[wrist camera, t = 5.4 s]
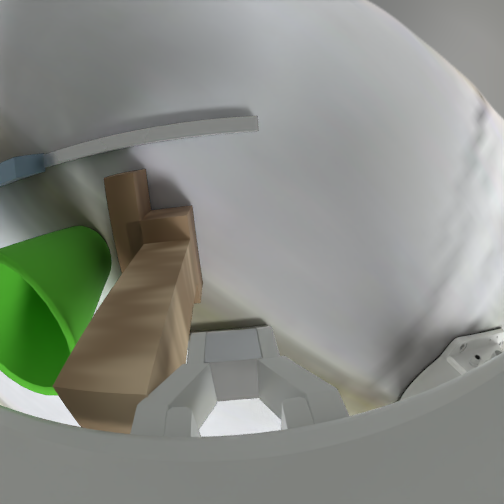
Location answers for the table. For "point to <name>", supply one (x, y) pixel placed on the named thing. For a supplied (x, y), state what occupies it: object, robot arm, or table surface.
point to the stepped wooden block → (135, 310)
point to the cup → (48, 302)
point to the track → (151, 137)
